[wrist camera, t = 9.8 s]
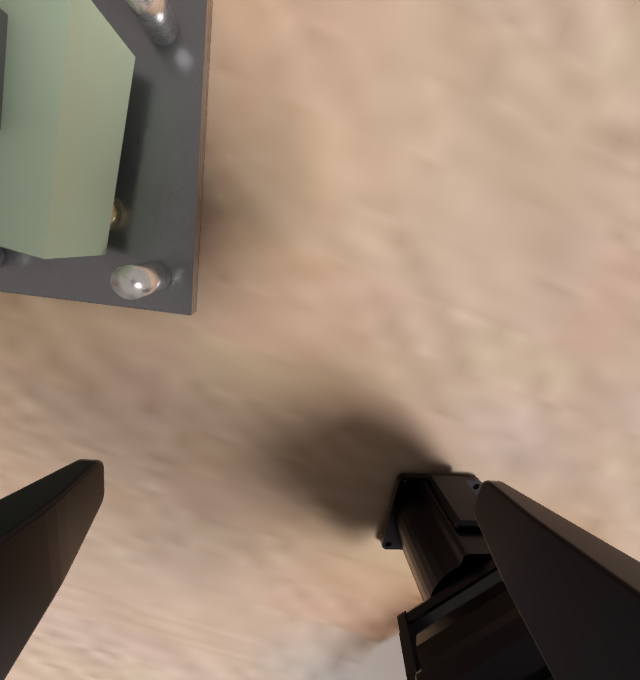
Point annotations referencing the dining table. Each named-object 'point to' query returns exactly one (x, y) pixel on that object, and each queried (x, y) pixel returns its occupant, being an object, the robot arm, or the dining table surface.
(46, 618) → the dining table surface
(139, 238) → the chassis
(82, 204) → the pale green block
